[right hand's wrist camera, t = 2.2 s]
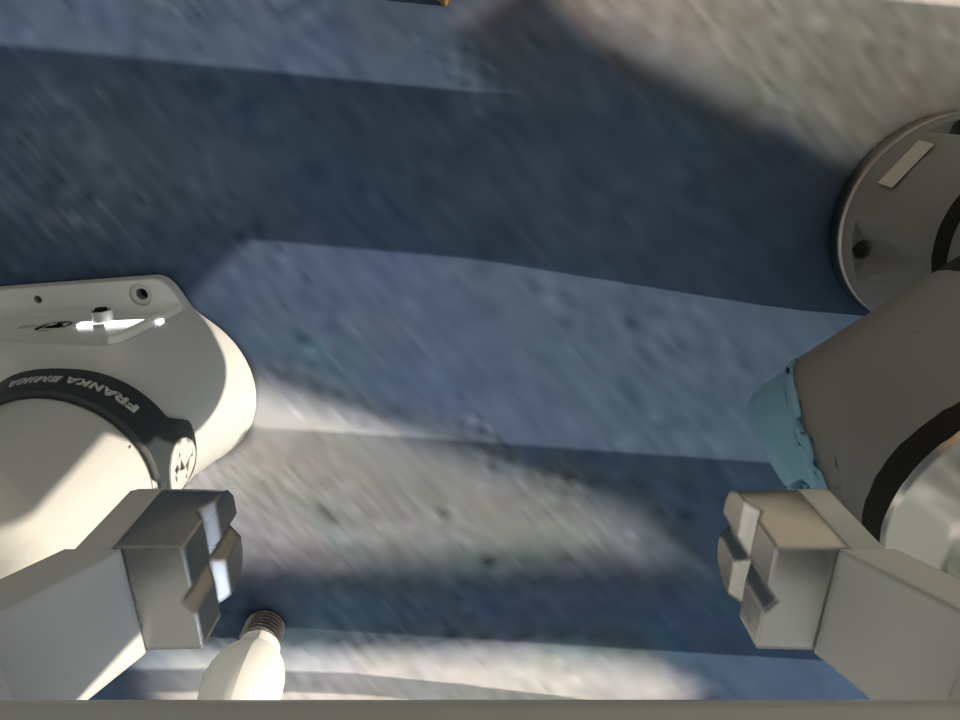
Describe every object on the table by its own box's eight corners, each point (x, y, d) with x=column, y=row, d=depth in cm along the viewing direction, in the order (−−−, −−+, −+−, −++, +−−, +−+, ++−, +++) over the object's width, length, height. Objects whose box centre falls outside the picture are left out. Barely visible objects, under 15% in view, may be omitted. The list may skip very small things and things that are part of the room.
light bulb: (233, 594, 58) (182, 695, 48) (306, 605, 59) (270, 708, 48) (228, 648, 61) (178, 756, 50) (298, 659, 61) (263, 768, 51)
